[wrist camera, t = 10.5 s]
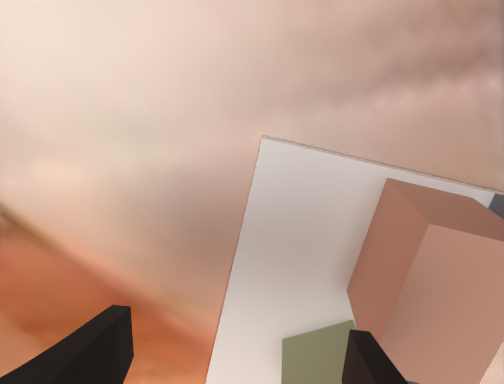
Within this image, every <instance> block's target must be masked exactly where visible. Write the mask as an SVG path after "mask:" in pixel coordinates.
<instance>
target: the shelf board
mask: <svg viewBox="0 0 504 384" xmlns="http://www.w3.org/2000/svg"><path fill="white" fill-rule="evenodd" d="M387 178H392V179H396V180H400V181H404V182H408V183H413V184H417V185H421V186H425V187H429V188H434V189H438V190H442V191H446V192H450V193H455V194H459V195H463V196H467V197H471V198H474V199H475V200H477V201H478V202H479V203H481V204H482V205H484V206H485V207H487V208H488V209H490V210H491V211H492V212H494V213H495V214H497V215H498V216H500V217H501V218H502V219H504V193H503V192H500V191H496V190H492V189H488V188H484V187H479V186H475V185H471V184H467V183H462V182H458V181H454V180H450V179H446V178H441V177H437V176H433V175H429V174H424V173H420V172H416V171H412V170H408V169H403V168H399V167H395V166H391V165H386V164H382V163H378V162H374V161H370V160H365V159H361V158H357V157H353V156H348V155H344V154H340V153H336V152H332V151H327V150H323V149H319V148H315V147H311V146H306V145H302V144H298V143H294V142H289V141H285V140H281V139H277V138H273V137H268V136H264V135H263V137H262V141H261V145H260V149H259V154H258V158H257V162H256V167H255V171H254V175H253V180H252V184H251V188H250V192H249V197H248V201H247V205H246V210H245V214H244V218H243V223H242V227H241V231H240V236H239V240H238V244H237V249H236V253H235V257H234V262H233V266H232V270H231V275H230V279H229V283H228V288H227V292H226V296H225V301H224V305H223V309H222V314H221V318H220V322H219V327H218V331H217V335H216V340H215V344H214V348H213V353H212V357H211V361H210V366H209V370H208V374H207V379H206V383H205V384H281V376H282V339H285V338H289V337H292V336H296V335H299V334H303V333H306V332H310V331H313V330H317V329H321V328H324V327H328V326H331V325H335V324H338V323H342V322H345V321H349V320H353V321H354V324H355V320H354V317H353V313H352V309H351V305H350V302H349V298H348V294H347V287H348V285H349V282H350V279H351V276H352V273H353V271H354V268H355V265H356V262H357V260H358V257H359V254H360V251H361V249H362V246H363V243H364V240H365V237H366V235H367V232H368V229H369V226H370V224H371V221H372V218H373V215H374V212H375V210H376V207H377V204H378V201H379V199H380V196H381V193H382V190H383V188H384V185H385V182H386V179H387ZM355 326H356V324H355ZM356 329H357V328H356ZM406 381H407V382H408V383H409V384H420V383H416V382H412V381H408V380H406Z"/></svg>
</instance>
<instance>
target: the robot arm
mask: <svg viewBox="0 0 504 384" xmlns="http://www.w3.org/2000/svg"><path fill="white" fill-rule="evenodd" d="M133 357H134V353H133V338H132V323H131V308H130V307H129V306H119V305H112V306H110V307H109V308H107V309H106V310H104V311H103V312H101V313H100V314H99V315H97V316H96V317H94V318H93V319H91V320H90V321H89V322H87V323H86V324H84V325H83V326H82V327H80V328H79V329H77V330H76V331H74V332H73V333H71V334H70V335H69V336H67V337H66V338H64V339H63V340H61V341H60V342H58V343H57V344H55V345H54V346H52V347H51V348H49V349H47V350H46V351H44V352H43V353H41V354H39V355H38V356H36V357H35V358H33V359H32V360H30V361H28V362H27V363H25V364H24V365H22V366H20V367H18V368H17V369H15V370H13V371H11V372H10V373H8V374H6V375H4V376H2V377H1V378H0V384H123V382H124V380H125V377H126V375H127V372H128V370H129V367H130V365H131V362H132V359H133ZM341 380H342V384H409V383H408V382H407V381H406V379H405V378H404V377H403V376H402V374H401V373H400V372H399V371H398V369H397V368H396V367H395V365H394V364H393V363H392V361H391V360H390V359H389V357H388V356H387V355H386V353H385V352H384V351H383V349H382V348H381V346H380V345H379V344H378V342H377V341H376V339H375V338H374V337H373V335H372V334H371V333H370V332H369V331H362V330H352V329H350V331H349V337H348V343H347V349H346V355H345V361H344V367H343V373H342V379H341Z"/></svg>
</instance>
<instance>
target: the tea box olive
mask: <svg viewBox="0 0 504 384" xmlns="http://www.w3.org/2000/svg"><path fill="white" fill-rule="evenodd" d="M350 329H352V330H357V329H356V326H355V324H354V321H353V320H349V321H345V322H342V323H338V324H335V325H331V326H328V327H324V328H321V329H317V330H313V331H310V332H306V333H303V334H299V335H296V336H292V337H289V338H285V339H282V376H281V384H342V380H341V379H342V373H343V367H344V361H345V355H346V349H347V343H348V337H349V331H350Z"/></svg>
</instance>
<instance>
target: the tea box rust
mask: <svg viewBox="0 0 504 384" xmlns="http://www.w3.org/2000/svg"><path fill="white" fill-rule="evenodd" d="M347 294H348V298H349V302H350V305H351V309H352V313H353V317H354V320H355V324H356V328H357V330H362V331H369V332H370V333H371V334H372V335H373V337H374V338H375V339H376V341H377V342H378V344H379V345H380V346H381V348H382V349H383V351H384V352H385V353H386V355H387V356H388V357H389V359H390V360H391V361H392V363H393V364H394V365H395V367H396V368H397V369H398V371H399V372H400V373H401V374H402V376H403V377H404V378H405V379H406V380H408V381H412V382H416V383H420V384H479V383H480V381H481V379H482V377H483V375H484V374H485V372H486V370H487V368H488V367H489V365H490V363H491V361H492V359H493V358H494V356H495V354H496V352H497V350H498V349H499V347H500V345H501V343H502V342H503V340H504V219H502V218H501V217H500V216H498V215H497V214H495V213H494V212H492V211H491V210H490V209H488V208H487V207H485V206H484V205H482V204H481V203H479V202H478V201H477V200H475V199H474V198H471V197H467V196H463V195H459V194H455V193H450V192H446V191H442V190H438V189H434V188H429V187H425V186H421V185H417V184H413V183H408V182H404V181H400V180H396V179H392V178H387V179H386V182H385V185H384V188H383V190H382V193H381V196H380V199H379V201H378V204H377V207H376V210H375V212H374V215H373V218H372V221H371V224H370V226H369V229H368V232H367V235H366V237H365V240H364V243H363V246H362V249H361V251H360V254H359V257H358V260H357V262H356V265H355V268H354V271H353V273H352V276H351V279H350V282H349V285H348V287H347Z"/></svg>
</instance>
